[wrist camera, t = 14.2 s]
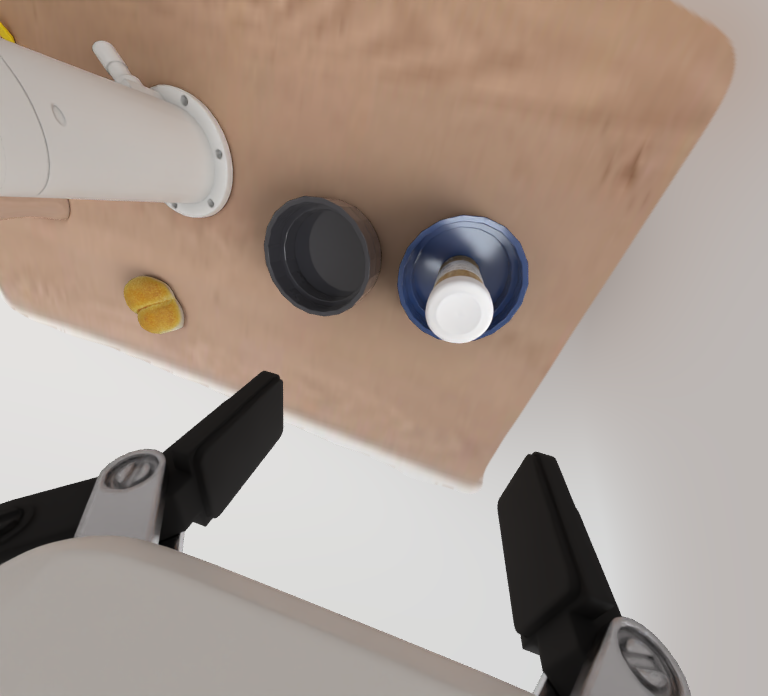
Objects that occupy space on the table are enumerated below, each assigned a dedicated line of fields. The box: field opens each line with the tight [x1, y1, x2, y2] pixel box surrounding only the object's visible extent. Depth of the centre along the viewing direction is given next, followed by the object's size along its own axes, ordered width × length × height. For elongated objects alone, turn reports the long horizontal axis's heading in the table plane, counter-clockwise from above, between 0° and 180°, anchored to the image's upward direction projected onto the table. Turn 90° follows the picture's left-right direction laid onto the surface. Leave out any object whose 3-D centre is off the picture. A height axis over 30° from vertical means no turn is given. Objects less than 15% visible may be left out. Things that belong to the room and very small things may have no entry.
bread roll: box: [124, 276, 184, 334], centre depth 41 cm, size 8×9×4 cm
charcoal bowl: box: [264, 196, 381, 316], centre depth 31 cm, size 12×12×5 cm
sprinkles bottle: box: [425, 256, 493, 343], centre depth 24 cm, size 5×4×13 cm
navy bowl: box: [397, 215, 528, 341], centre depth 28 cm, size 12×12×5 cm
